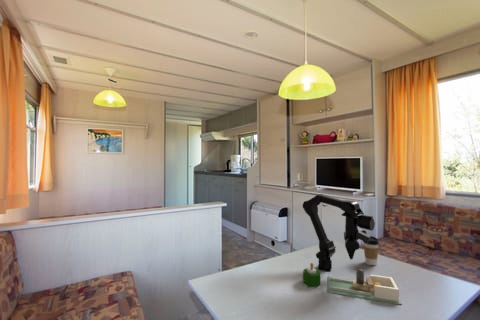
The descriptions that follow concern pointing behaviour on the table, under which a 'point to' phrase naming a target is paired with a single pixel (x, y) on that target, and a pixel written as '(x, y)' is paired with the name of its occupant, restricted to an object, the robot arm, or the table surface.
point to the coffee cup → (371, 251)
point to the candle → (311, 277)
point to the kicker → (360, 283)
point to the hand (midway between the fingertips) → (350, 255)
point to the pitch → (381, 293)
